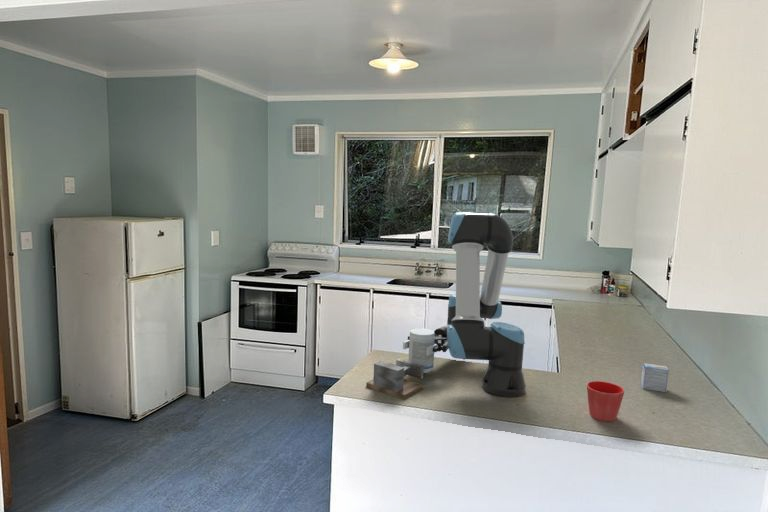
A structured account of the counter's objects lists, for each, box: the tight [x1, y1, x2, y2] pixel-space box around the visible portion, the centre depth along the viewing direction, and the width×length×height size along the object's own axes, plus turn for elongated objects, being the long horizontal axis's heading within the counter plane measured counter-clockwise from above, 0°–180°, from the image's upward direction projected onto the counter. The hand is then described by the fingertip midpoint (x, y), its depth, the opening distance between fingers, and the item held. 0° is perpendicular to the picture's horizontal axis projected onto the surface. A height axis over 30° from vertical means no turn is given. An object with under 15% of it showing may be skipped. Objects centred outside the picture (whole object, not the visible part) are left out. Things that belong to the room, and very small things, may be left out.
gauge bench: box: [365, 360, 424, 400], centre depth 168 cm, size 16×12×9 cm
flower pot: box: [586, 380, 625, 422], centre depth 152 cm, size 11×11×10 cm
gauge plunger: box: [388, 358, 424, 380], centre depth 174 cm, size 12×6×4 cm, turn 54°
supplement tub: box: [408, 327, 435, 374], centre depth 182 cm, size 10×10×15 cm
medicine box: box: [640, 363, 670, 393], centre depth 177 cm, size 8×4×9 cm, turn 71°
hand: (415, 348), depth 178 cm, fingers closed on supplement tub, 9 cm apart
